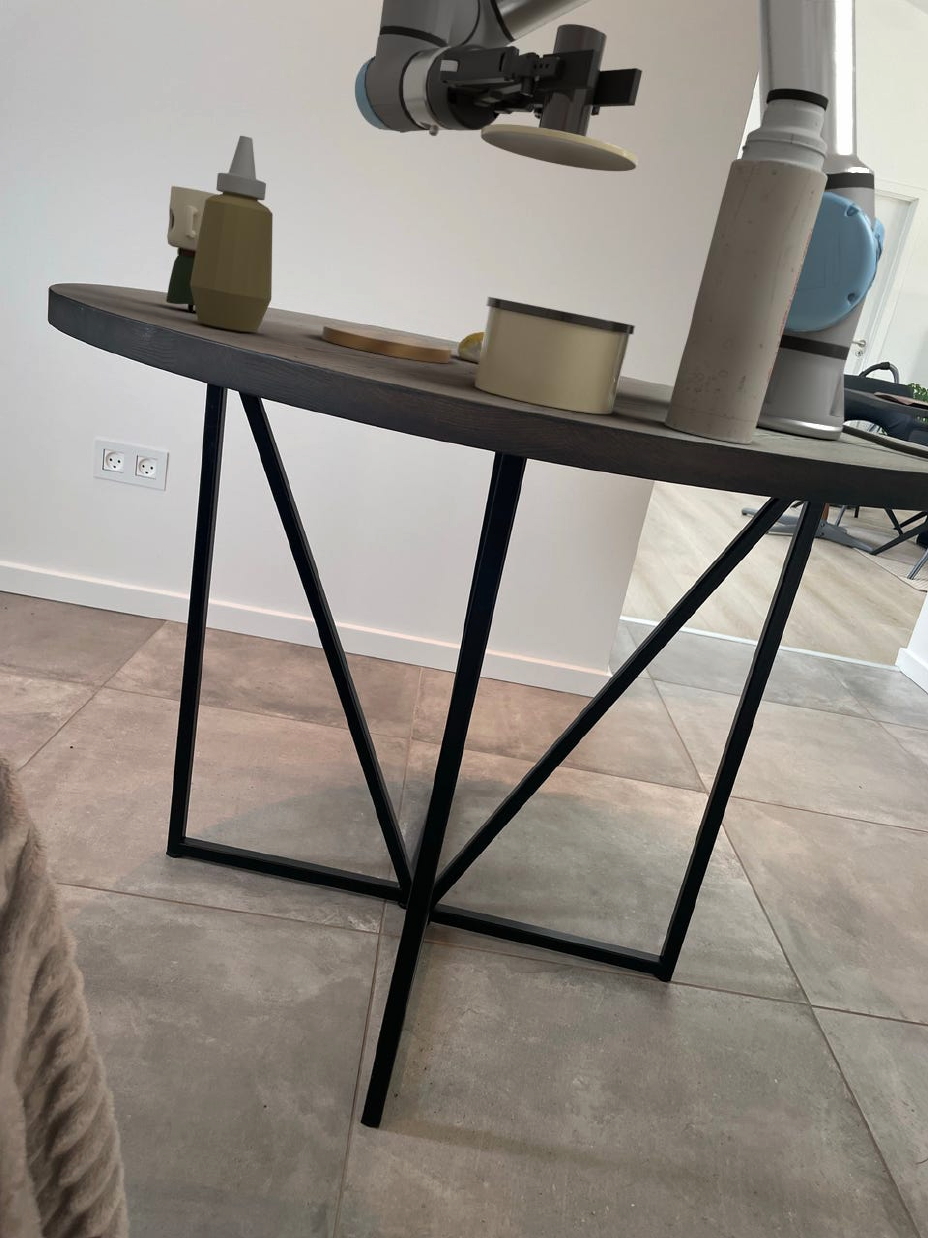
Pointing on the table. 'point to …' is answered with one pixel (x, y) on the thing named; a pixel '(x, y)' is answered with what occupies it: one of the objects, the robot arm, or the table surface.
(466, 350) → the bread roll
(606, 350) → the pot
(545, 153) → the lid
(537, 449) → the table surface
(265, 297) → the squeeze bottle
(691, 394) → the thermos bottle
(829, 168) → the robot arm
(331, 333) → the trivet
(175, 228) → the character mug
